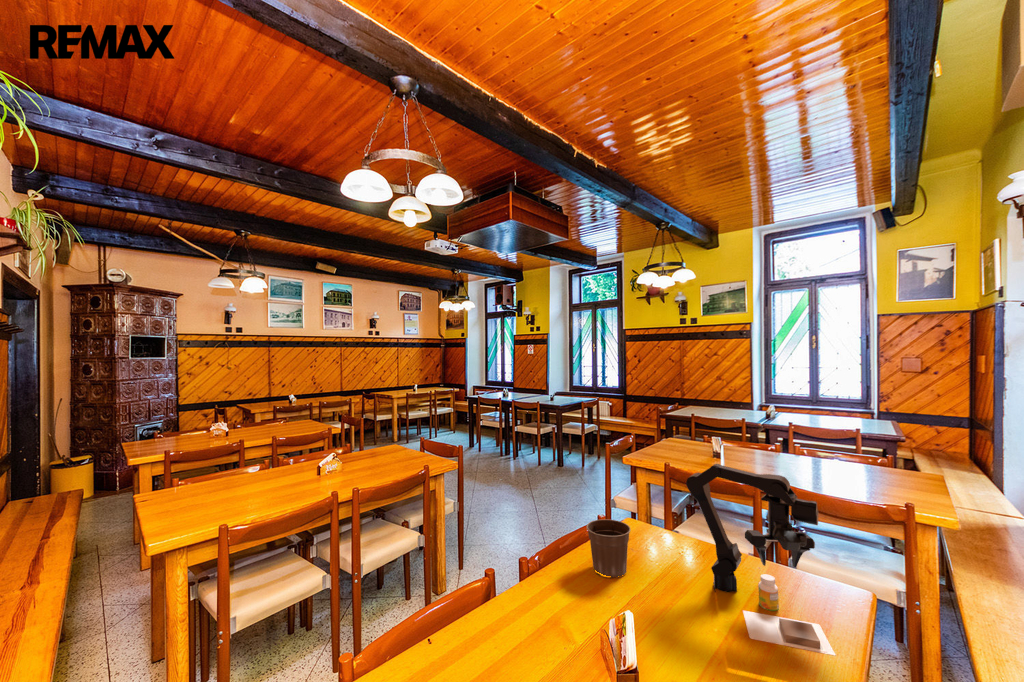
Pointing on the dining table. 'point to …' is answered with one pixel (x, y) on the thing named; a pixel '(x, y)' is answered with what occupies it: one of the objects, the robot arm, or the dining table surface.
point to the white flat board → (771, 632)
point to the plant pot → (609, 546)
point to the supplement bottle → (768, 593)
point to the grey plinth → (799, 633)
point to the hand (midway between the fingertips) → (779, 566)
